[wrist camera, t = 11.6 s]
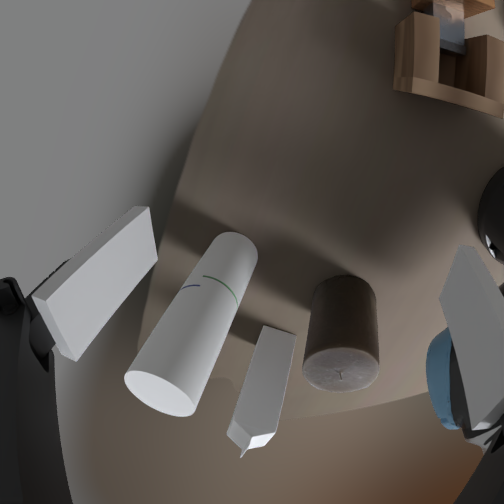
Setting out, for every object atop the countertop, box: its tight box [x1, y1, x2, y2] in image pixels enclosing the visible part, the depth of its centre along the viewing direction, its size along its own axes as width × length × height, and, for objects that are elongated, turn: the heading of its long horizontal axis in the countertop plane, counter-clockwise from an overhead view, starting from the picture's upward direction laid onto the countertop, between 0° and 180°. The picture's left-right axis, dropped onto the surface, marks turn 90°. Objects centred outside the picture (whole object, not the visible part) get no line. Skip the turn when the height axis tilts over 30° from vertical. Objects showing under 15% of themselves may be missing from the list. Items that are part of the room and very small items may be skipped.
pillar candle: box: [302, 275, 380, 393], centre depth 40 cm, size 10×10×15 cm
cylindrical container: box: [124, 232, 258, 417], centre depth 36 cm, size 7×7×25 cm
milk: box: [227, 325, 296, 458], centre depth 45 cm, size 6×6×22 cm
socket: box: [393, 11, 504, 119], centre depth 22 cm, size 10×8×9 cm
